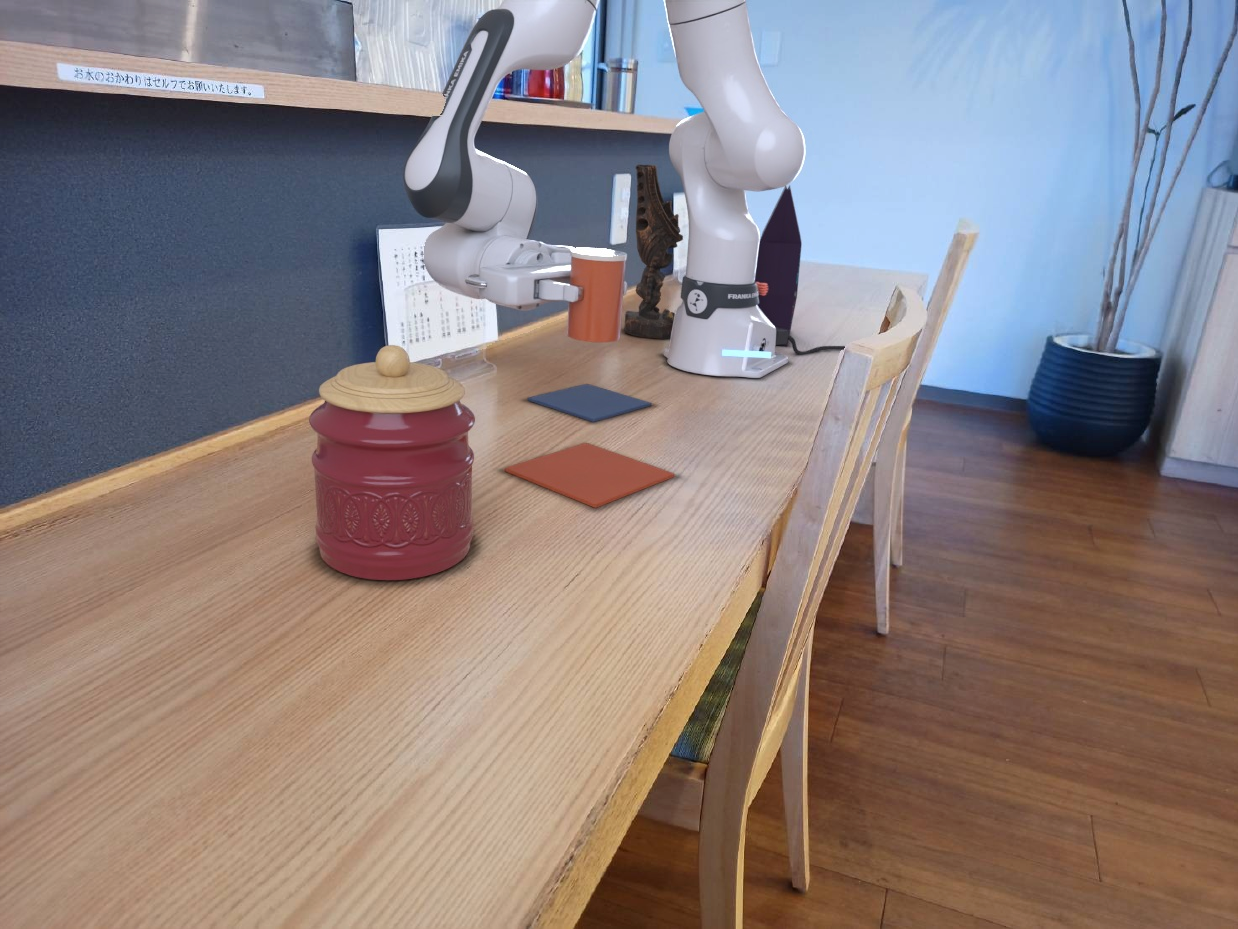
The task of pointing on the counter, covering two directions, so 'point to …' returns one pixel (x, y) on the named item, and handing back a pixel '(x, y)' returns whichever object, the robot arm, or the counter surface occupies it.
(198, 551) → the counter surface
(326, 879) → the counter surface
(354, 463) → the kitchen canister
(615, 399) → the blue mat
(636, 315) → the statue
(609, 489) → the terracotta mat
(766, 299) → the dark pointed faceted spire
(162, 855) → the counter surface
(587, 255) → the tumbler
